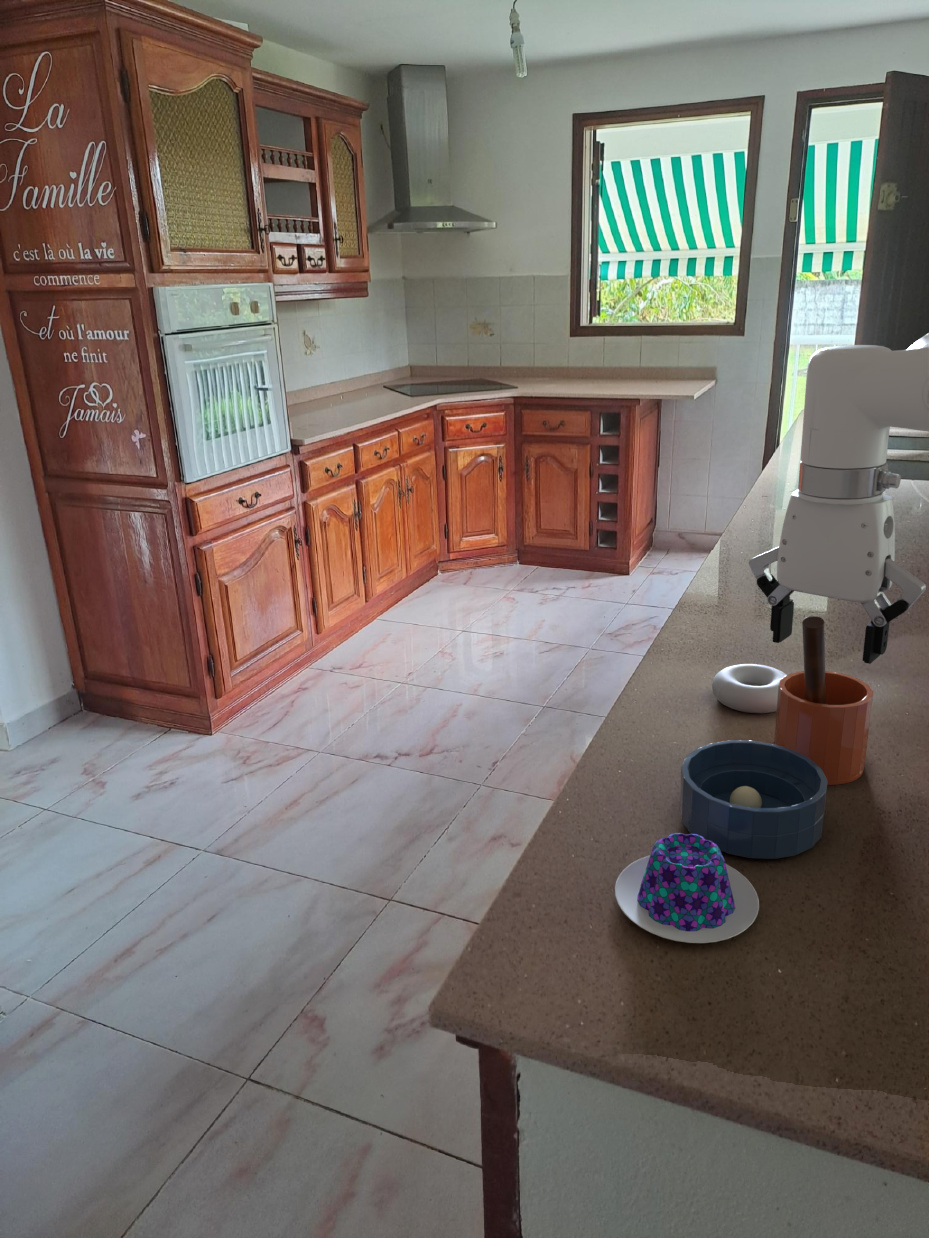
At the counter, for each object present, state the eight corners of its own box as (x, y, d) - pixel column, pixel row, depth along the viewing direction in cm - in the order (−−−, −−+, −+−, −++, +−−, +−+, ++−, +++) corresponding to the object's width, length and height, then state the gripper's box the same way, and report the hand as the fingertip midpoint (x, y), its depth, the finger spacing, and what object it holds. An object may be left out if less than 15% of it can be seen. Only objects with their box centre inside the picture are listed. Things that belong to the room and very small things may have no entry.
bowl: (843, 816, 86) (849, 767, 84) (785, 882, 77) (789, 829, 75) (720, 773, 95) (722, 727, 93) (654, 828, 86) (655, 779, 84)
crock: (876, 758, 96) (886, 683, 93) (843, 794, 90) (852, 715, 87) (794, 734, 102) (801, 663, 99) (758, 766, 96) (763, 691, 93)
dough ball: (737, 825, 86) (768, 817, 86) (732, 813, 84) (763, 805, 83) (728, 798, 88) (758, 789, 88) (723, 786, 86) (753, 777, 85)
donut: (810, 702, 110) (744, 676, 117) (813, 677, 108) (746, 652, 116) (760, 727, 104) (694, 698, 112) (763, 701, 103) (695, 674, 111)
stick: (831, 756, 95) (828, 621, 86) (817, 764, 95) (813, 630, 85) (817, 746, 97) (813, 613, 87) (803, 755, 96) (797, 622, 87)
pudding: (613, 943, 71) (613, 890, 69) (616, 854, 82) (616, 806, 80) (767, 956, 69) (772, 902, 67) (749, 863, 80) (753, 814, 78)
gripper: (952, 482, 81) (928, 656, 87) (771, 466, 92) (761, 620, 98) (925, 499, 76) (902, 682, 82) (737, 479, 87) (729, 641, 93)
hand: (825, 648), depth 90 cm, fingers open, 8 cm apart
